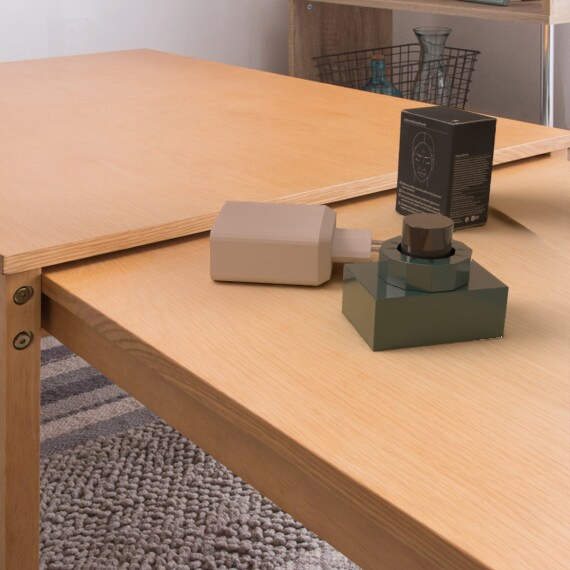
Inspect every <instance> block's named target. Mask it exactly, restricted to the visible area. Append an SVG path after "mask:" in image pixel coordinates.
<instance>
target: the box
mask: <svg viewBox="0 0 570 570" xmlns="http://www.w3.org/2000/svg"><path fill="white" fill-rule="evenodd" d="M497 122H498V118H497V117H494V116H488V115H485V114H481V113H477V112H473V111H468V110H464V109H461V108H457V107H452V106H448V105H443V104H442V105H431V106H422V107H413V108H403V109H402V110H401V111H400V123H399V124H400V125H399V145H398V161H397V179H396V194H395V195H396V196H395V212H396V213H399V214H401V215H403V216H407V215H411V214H416V213H432V214H439V215H443V216H446V217H448V218H450V219H452V220H453V222H454V227H453V231H456V230H457V231H458V230H462V229H468V228H472V227H477V226H481V225H486V224H487V222H488V216H489V205H490V194H491V185H492V184H491V183H492V175H493V172H492V171H493V165H494V155H495V144H496V134H497Z"/></svg>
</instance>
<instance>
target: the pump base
mask: <svg viewBox="0 0 570 570" xmlns="http://www.w3.org/2000/svg"><path fill="white" fill-rule="evenodd" d="M401 237H402V234H400V235H397V236H393V237H391V238H388V239H386V240H385V239H384V240H385V241H383V243H382V245H380V246H379V247H380V249H379V252H378V260H377V261H370V262H364V263H343V272H342V296H341V298H342V299H341V314H342V315H343V316H344V317H345V319H347V321H348V322H349V324H350V325H351V326H352V327H353V328H354V329H355V331H356V332H357V333H358V335H359V336H360V337H361V338H362V340H363V341H364V342H365V344H366V345H367V346H368V347H369V348H370V350H371V351H372V353H373V352H375V353H376V352H384V351H385V352H386V351H393V350H403V349H411V348H420V347H429V346H430V347H431V346H438V344H439V345H446V343H447V345H448V344H456V343H455V342H458V343H465V342H464V341H467V342H474V341H473V340H476V341H481V340H480V339H485V340H490V339H489V338H494V339H497V338H496V337H501V336H502V337H503V338H504V335H505V334H504V333H505V326H506V317H507V308H508V307H507V306H508V299H509V290H510V287H509V286H508V285H507V284H506V283H504V282H503V281H502V280H501V279H499V278H498V277H497V276H496V275H494V274H493V273H491V272H490V271H489V270H487V268H485V267H484V266H483V265H481V264H480V263H479V262H477V261H476V260H475V259H473V251H474V250H473V249H472V248H471V247H469V246H468V245H466V244H465V243H464V242H462V241H460V240H456V239H453V238H452V250H451V257H448V258H445V259H433V260H428V259H418V258H413V257H410V256H406V255H403V254H401ZM462 341H463V342H462Z"/></svg>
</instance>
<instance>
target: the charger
mask: <svg viewBox="0 0 570 570" xmlns="http://www.w3.org/2000/svg"><path fill="white" fill-rule="evenodd" d="M383 241H385V239H384V240H383V239H373V229H367V228H366V229H365V228H345V227H344V228H343V227H337V211H335V210H334V209H333V208H331V207H330V206H328V205H327V204H325V205H324V204H306V203H305V204H303V203H283V202H263V201H262V202H261V201H243V200H242V201H241V200H240V201H239V200H236V201H235V200H226V201H225V202H224V204H223V206H222V207H221V209H220V211H219V213H218V215H217V216H216V218H215V220H214V221H213V223H212V225H211V229H210V233H209V276H210V281H219V282H220V281H222V282H223V281H224V282H242V283H257V284H258V283H260V284H261V283H262V284H277V285H278V284H279V285H295V286H296V285H297V286H312V287H313V286H315V287H318V286H320V285H322V284H324V283H326V282H328V281H330V280H331V277H332V271H333V265H334V263H336V264H337V263H339V264H352V263H364V262H371V261H372V260H371V259H372V253H373V252H374V253H379V249H380V247H381V245H382V243H383Z"/></svg>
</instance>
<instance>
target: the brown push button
mask: <svg viewBox="0 0 570 570" xmlns="http://www.w3.org/2000/svg"><path fill="white" fill-rule="evenodd" d="M401 223H402V224H401V235H402V237H401V254H403V255H406V256H410V257H413V258H418V259H428V260H433V259H445V258H448V257H451V250H452V239H453V237H454V230H453V227H454V222H453V220H452V219H450V218H448V217H446V216H443V215H439V214H432V213H416V214H411V215H407V216H406V215H404V217H403V218H402V222H401Z"/></svg>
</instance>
